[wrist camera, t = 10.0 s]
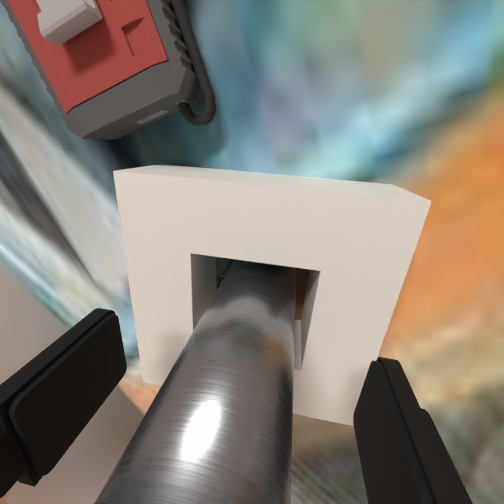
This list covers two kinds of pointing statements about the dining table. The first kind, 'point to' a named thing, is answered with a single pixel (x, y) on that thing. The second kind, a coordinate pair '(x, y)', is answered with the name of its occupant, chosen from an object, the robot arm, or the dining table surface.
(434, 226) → the dining table surface
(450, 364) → the dining table surface
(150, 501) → the peg
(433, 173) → the dining table surface
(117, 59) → the walkie-talkie
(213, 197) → the socket block
